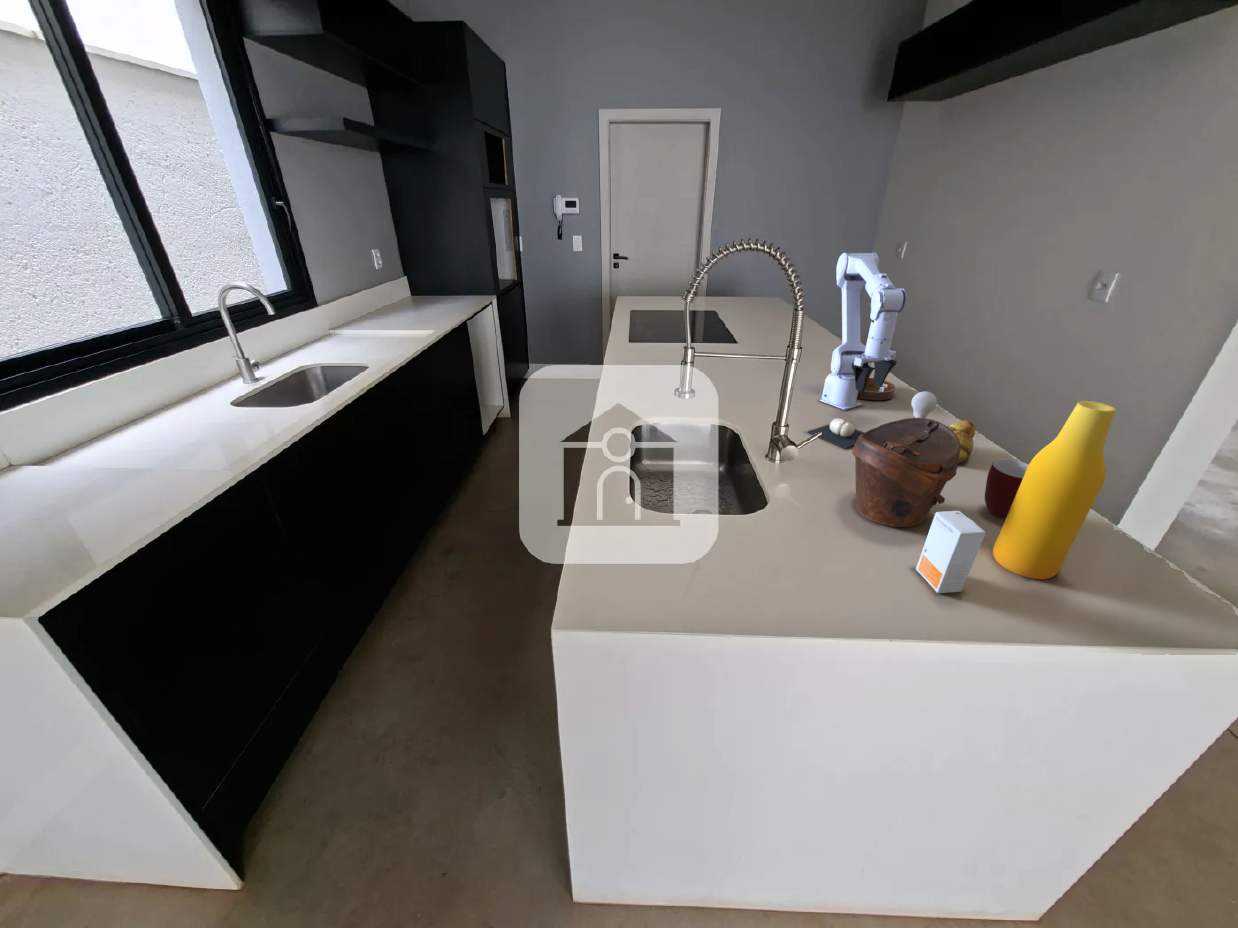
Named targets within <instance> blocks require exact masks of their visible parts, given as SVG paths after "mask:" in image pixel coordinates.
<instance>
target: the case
mask: <svg viewBox="0 0 1238 928" xmlns="http://www.w3.org/2000/svg"><path fill="white" fill-rule="evenodd" d="M947 426H948V425H945V424H944V423H942V422H940V421H937V420H934V419H931V418H914V417H910V418H909V417H908V418H902V419H898V420H894V421H890V422H886V423H883V424H881V425H878V426H876V427H874V428H871V429H869V430H867V431H865V432H863V434H861V435H860V436H859V437H858V439H857V441H856V443H855V445H854V446H853V447H852V452H851V454H852V455H853V456H854V457H855V463H854V464H855V465H854V467H855V468H854V469H855V470H854V471H855V473H854V475H855V506H856V509H857V511H858V513H860V515H862V517H864V518H866V519H867V520H868V521H871V522H874V523H875V524H878V525H883V526H887V527H892V528H909V527H914V526H917V525H919V524H921V523H923V522H924V521H925V519H926V518H927V516H928V514H929V513H930V511H931V509H932V508H933V507H934V506H936V505H937V504H939V505H940V504H944V503H945V500H946V499H945V497H944V496H943V495H942V494H941V493H942V491H943V489H944V487H946V484H947V483H948V482H949V481H951V480H952V479H954V478H955V476H956V475H957V469H958V464H959V463H958V459H959V454H960V451H961V444H960V441H959V439H958V437H957V436H956V434H955V433H954V432H953V431H952V430H951V429H950V428H948V427H947Z"/></svg>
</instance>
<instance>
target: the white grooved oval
mask: <svg viewBox="0 0 1238 928" xmlns="http://www.w3.org/2000/svg"><path fill="white" fill-rule="evenodd" d="M829 425H830V430H831V431H832V432H833V433H835V434H837V435H840V436H842V437H849V436H851V435H852V434H853V433H854V430H855V429H856V428H855V425H854V424H853V422H851V421H849V420H846V419H843V418H839V417H837V418H834V419H832V420H831V421H830V423H829Z"/></svg>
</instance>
